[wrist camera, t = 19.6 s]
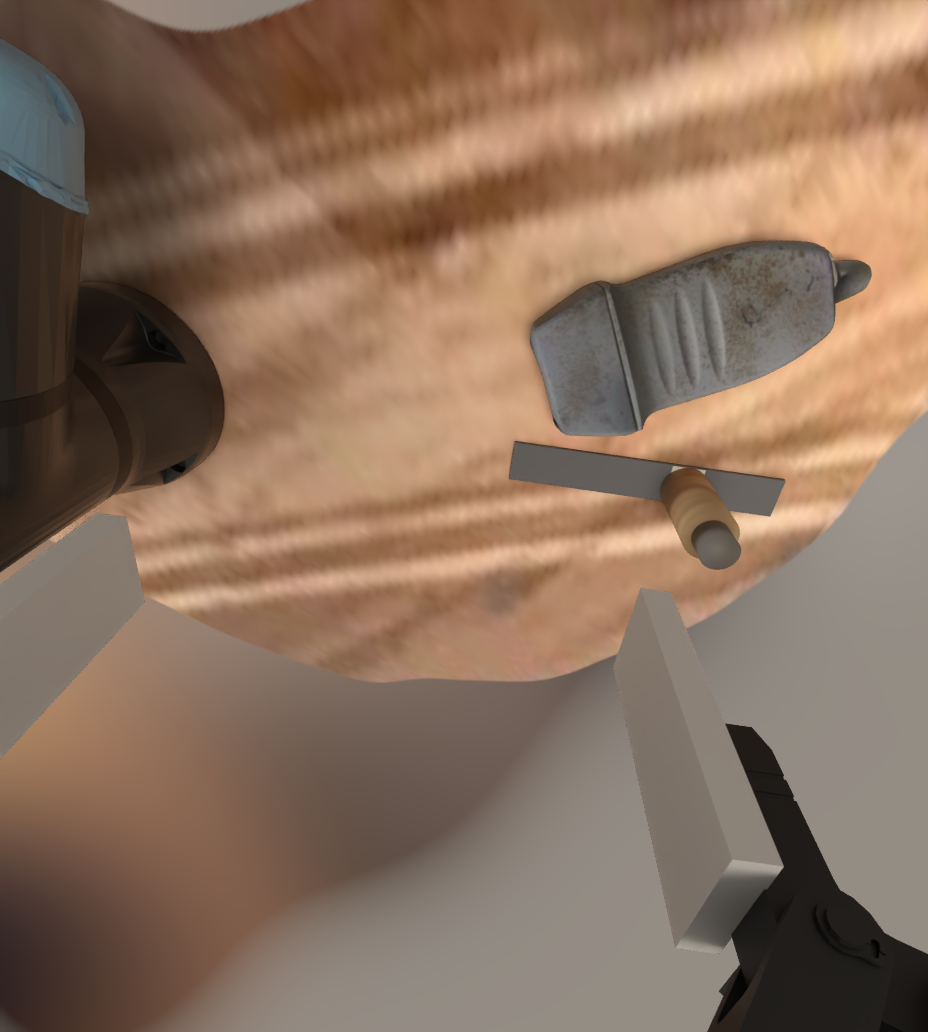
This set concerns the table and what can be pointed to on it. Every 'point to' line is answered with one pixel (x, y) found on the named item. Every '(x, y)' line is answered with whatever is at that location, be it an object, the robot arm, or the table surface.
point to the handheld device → (686, 331)
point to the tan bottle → (701, 518)
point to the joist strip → (635, 476)
